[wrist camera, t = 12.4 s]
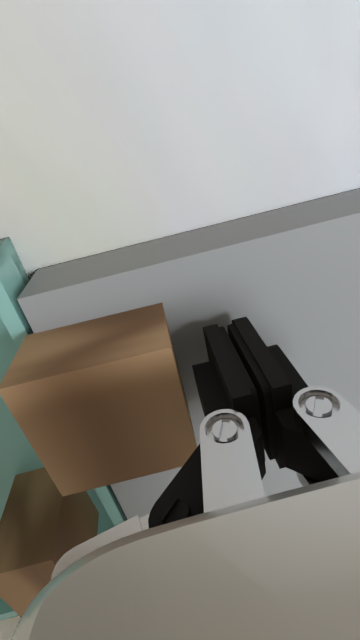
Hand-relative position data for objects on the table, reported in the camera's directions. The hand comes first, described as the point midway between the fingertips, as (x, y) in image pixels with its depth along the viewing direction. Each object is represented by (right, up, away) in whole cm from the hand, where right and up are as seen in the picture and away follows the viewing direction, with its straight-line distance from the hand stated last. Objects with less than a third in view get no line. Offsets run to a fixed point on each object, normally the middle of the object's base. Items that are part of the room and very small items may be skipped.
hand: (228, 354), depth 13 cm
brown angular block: (-7, -10, +5) cm, 13 cm away
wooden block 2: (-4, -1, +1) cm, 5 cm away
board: (+2, -2, +6) cm, 6 cm away
